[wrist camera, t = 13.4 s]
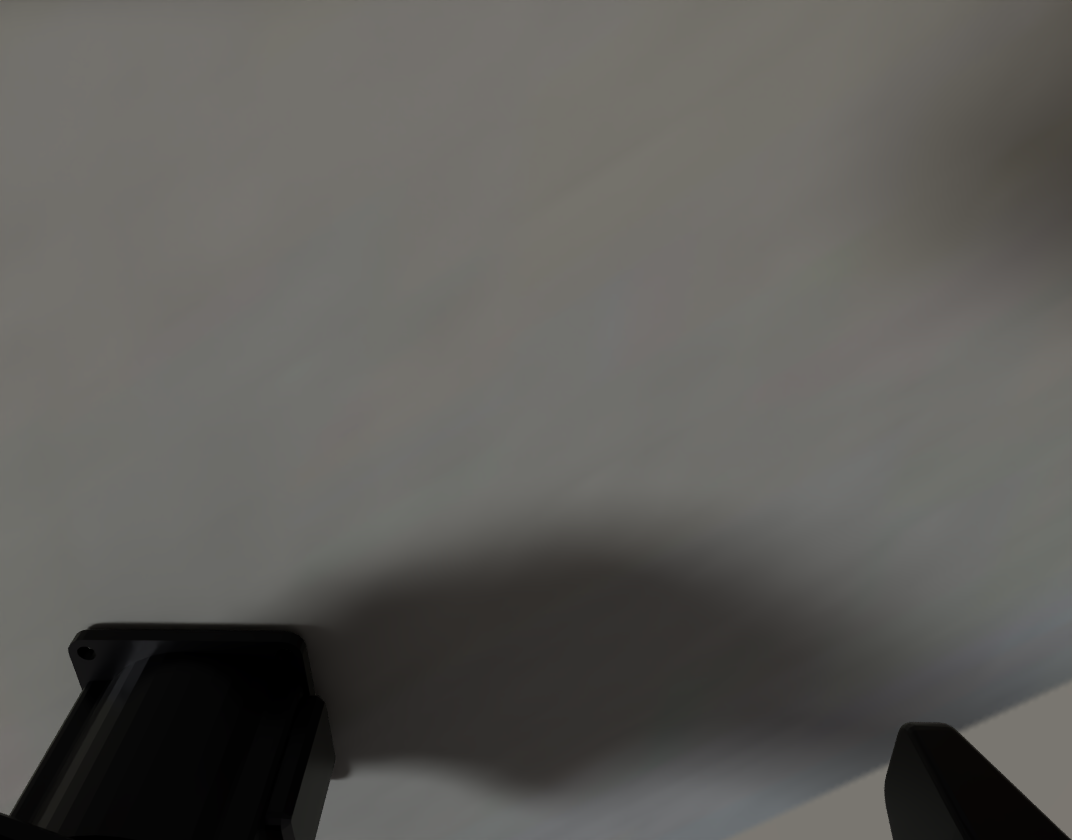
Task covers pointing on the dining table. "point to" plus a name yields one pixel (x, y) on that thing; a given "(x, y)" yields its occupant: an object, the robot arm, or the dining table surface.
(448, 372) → the dining table surface
